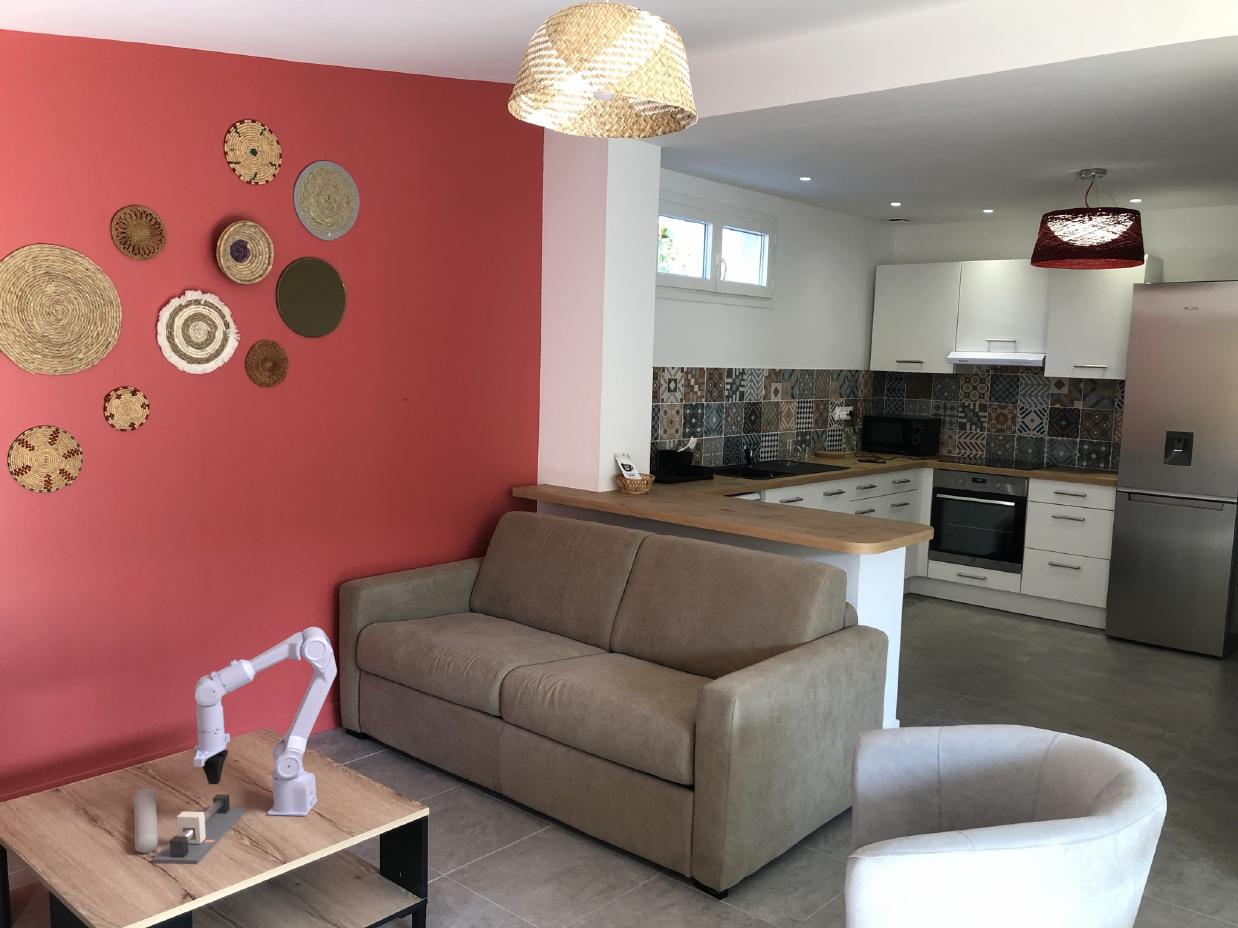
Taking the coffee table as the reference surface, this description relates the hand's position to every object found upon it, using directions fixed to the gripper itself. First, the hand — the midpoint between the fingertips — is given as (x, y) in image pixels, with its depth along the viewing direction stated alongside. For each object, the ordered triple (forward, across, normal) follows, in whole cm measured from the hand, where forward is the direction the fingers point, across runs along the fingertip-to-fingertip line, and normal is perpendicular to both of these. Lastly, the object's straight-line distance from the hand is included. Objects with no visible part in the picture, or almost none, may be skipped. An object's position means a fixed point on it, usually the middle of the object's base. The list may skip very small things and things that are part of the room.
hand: (214, 782), depth 228 cm
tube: (+10, +5, -14) cm, 18 cm away
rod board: (+9, +7, 0) cm, 12 cm away
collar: (+8, +11, 0) cm, 14 cm away
